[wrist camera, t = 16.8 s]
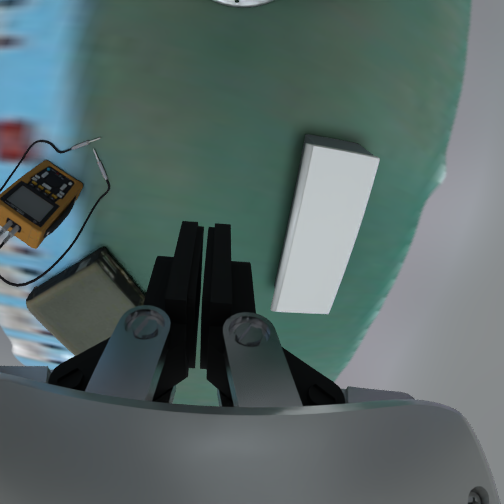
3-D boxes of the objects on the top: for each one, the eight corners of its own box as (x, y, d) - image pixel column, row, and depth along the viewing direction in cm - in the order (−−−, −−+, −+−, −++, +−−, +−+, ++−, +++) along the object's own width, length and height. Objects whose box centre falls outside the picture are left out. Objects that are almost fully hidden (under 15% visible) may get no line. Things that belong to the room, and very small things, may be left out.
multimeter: (130, 155, 37) (62, 238, 21) (98, 212, 41) (36, 311, 25) (46, 101, 31) (-59, 149, 15) (21, 161, 35) (-67, 234, 19)
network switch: (191, 324, 55) (189, 346, 51) (110, 362, 61) (105, 381, 57) (95, 230, 43) (83, 249, 39) (27, 293, 49) (16, 311, 45)
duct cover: (304, 142, 33) (306, 144, 32) (376, 156, 34) (379, 158, 33) (270, 306, 46) (270, 311, 45) (327, 309, 47) (328, 314, 46)
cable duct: (305, 133, 37) (315, 144, 33) (358, 143, 38) (373, 155, 34) (274, 285, 50) (278, 307, 46) (317, 287, 51) (324, 308, 47)
